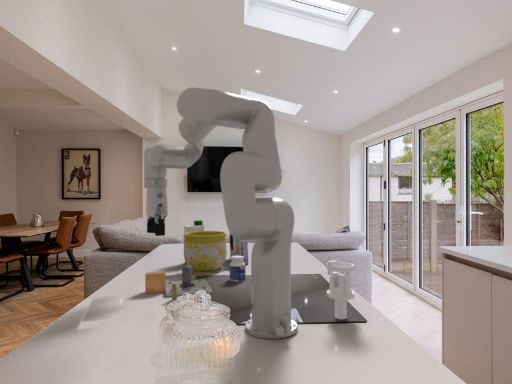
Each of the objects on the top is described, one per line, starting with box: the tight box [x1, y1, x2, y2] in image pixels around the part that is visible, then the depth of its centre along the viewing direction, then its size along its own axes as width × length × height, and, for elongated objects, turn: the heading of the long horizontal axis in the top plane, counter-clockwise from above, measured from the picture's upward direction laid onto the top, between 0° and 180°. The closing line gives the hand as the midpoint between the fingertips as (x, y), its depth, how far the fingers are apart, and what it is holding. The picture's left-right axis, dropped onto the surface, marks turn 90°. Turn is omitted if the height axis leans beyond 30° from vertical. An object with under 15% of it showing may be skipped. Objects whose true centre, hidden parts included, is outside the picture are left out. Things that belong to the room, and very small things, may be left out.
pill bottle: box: [229, 256, 246, 283], centre depth 130 cm, size 6×6×10 cm
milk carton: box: [183, 220, 205, 264], centre depth 170 cm, size 9×9×20 cm
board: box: [171, 264, 192, 301], centre depth 118 cm, size 26×26×9 cm
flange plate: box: [144, 271, 213, 298], centre depth 117 cm, size 20×14×6 cm
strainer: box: [326, 259, 355, 320], centre depth 94 cm, size 7×7×15 cm
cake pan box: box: [228, 231, 249, 265], centre depth 174 cm, size 19×5×18 cm, turn 17°
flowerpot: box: [182, 230, 228, 275], centre depth 150 cm, size 18×18×16 cm
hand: (155, 234), depth 123 cm, fingers open, 9 cm apart
